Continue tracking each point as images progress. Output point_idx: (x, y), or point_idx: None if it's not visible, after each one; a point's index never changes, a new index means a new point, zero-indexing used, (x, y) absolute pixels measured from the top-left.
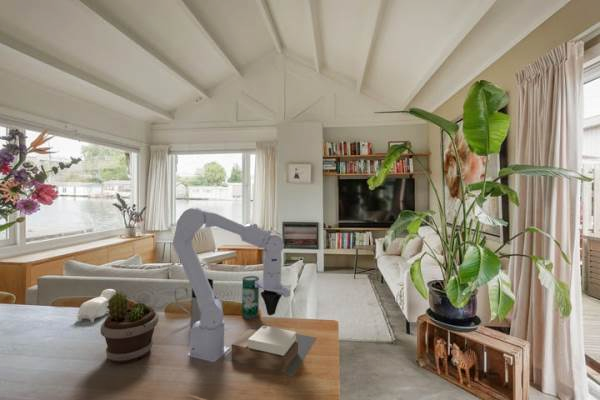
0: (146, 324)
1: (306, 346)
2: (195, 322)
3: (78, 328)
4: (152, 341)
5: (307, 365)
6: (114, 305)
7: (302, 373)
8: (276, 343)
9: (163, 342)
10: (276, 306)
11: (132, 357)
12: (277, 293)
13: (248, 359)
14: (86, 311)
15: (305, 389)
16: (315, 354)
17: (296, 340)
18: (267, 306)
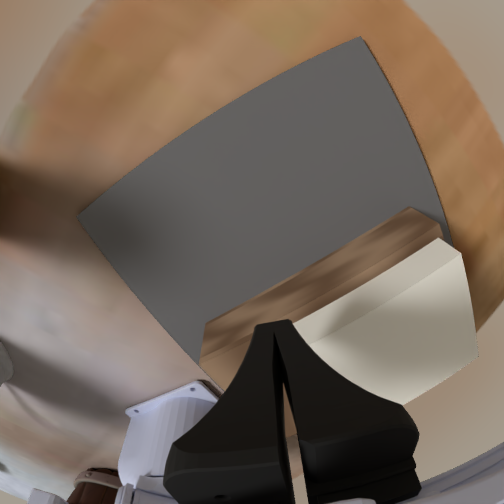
0: None
1: (392, 133)
2: (4, 381)
3: (11, 473)
4: (116, 487)
5: (462, 219)
6: None
7: (470, 259)
8: (448, 371)
9: (85, 449)
10: (311, 350)
11: None
12: (421, 492)
13: None
14: None
15: (499, 290)
16: (442, 144)
17: (434, 229)
18: (284, 421)
